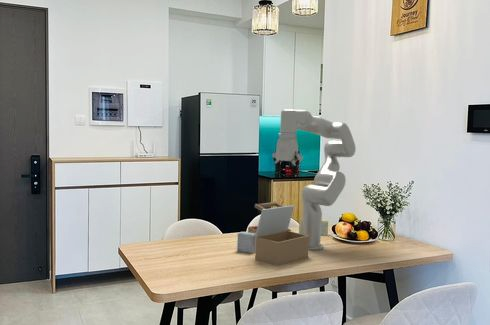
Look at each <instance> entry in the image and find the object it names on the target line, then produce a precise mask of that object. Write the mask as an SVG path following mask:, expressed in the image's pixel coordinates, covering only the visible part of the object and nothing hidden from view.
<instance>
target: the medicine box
mask: <svg viewBox="0 0 490 325" xmlns="http://www.w3.org/2000/svg"><path fill="white" fill-rule="evenodd" d="M255 235H256V234H255V233H248V231H240V232H238V233H237V243H236V244H237V246H236V247H237V248H236V251H237V252H243V253H248V254H249V253H250V254H254V252H256V236H255Z"/></svg>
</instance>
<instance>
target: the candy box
mask: <svg viewBox="0 0 490 325" xmlns="http://www.w3.org/2000/svg"><path fill="white" fill-rule="evenodd" d="M298 222H299V223H298V233H300V234H302V219H299V221H298ZM328 232H329V221H328V220H321V236H322V235H324V237H325V236H328Z"/></svg>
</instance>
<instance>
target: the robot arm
mask: <svg viewBox="0 0 490 325" xmlns="http://www.w3.org/2000/svg"><path fill="white" fill-rule="evenodd" d="M279 129H280V130H279V133H278V136H279V138H278V139H277V143H276V149H275V150H276V151H274V153H272V154H271V155H272V158H273V161H274V164H275V173H281V172H282V162H284V161H285V162H291V164H292V166H291V175H298V170H299V169H298V168H299V166H300V164H301V163H302V160H303V159H304V156H303V155H301V154H300V153H299V146H298V145H299V144H298V139H297V130H299V131H303V132H307V133H311V134H315V135H318V136H321V137H323V138H326V139H331V140H328V141H327V142H326V143H325V144H324V146H323V147H324V148H323V151H324V162H323V165H321V167H320V168H319V170H318V171H317V173H316V174H315V177H314V179H313V183H314V184H307V185H305V186H304V187H303V188H302V189H301V200H302V219H301V220H302V234H304V235H308V236H309V250H308V251H310V250H311V251H316V250H317V251H318V250H323V249H324V244H322V243H321V236H322V235H321V221H323V220H322V219H323V218H322V217H323V210H322V208H321V206H324V207H331V206H332V205H333V204H335V202H336V201H337V200H338V198H339V196H340V195H341V194H342V191H343V190H344V188H345V186H346V182H347V181H346V175H345V174H344V173H343V172H341V171H340V169H341V168H340V163H339V161H338V157H339V158H351V157H353V156H354V155H355V154H356V150H357V149H356V145H355V144H356V143H355V141H354V138H353V135H352V132H351V130H350V128H349V126H348V124H347V123H345V122H338V121H330V120H327V119H325V118H323V117H321V116H316V115H312V114H311V112H310V111H309V110H305V109H282V110H281V112H280V128H279Z"/></svg>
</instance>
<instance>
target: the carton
mask: <svg viewBox="0 0 490 325" xmlns="http://www.w3.org/2000/svg"><path fill="white" fill-rule="evenodd" d="M309 251H310V250H309V236H308V235H304V234H300V233H299V232H295V231H292V230H291V231H283V232H278V233H273V234H268V235H263V236H258V237H256V251H255V258H254V259H255V260H258V261H261V262H265V263H267V264H270V265H274V266H277V267H278V266H281V265H285V264H289V263H293V262H295V261H299V260H303V259H306V258H308V257H309Z"/></svg>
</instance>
